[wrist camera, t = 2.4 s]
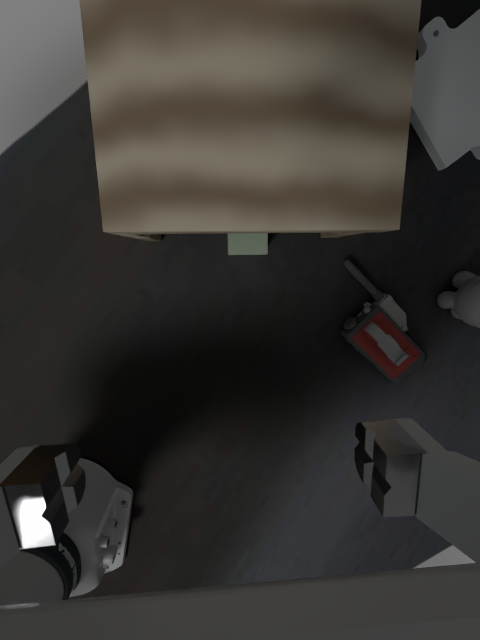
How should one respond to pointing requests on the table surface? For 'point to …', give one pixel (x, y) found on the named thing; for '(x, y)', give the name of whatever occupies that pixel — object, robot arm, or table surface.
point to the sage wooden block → (247, 243)
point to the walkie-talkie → (382, 334)
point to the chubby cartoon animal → (463, 298)
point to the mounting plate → (448, 90)
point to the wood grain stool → (250, 114)
